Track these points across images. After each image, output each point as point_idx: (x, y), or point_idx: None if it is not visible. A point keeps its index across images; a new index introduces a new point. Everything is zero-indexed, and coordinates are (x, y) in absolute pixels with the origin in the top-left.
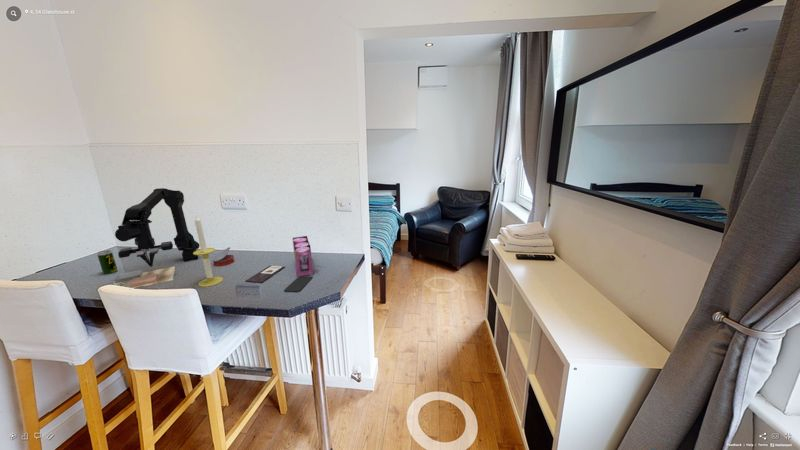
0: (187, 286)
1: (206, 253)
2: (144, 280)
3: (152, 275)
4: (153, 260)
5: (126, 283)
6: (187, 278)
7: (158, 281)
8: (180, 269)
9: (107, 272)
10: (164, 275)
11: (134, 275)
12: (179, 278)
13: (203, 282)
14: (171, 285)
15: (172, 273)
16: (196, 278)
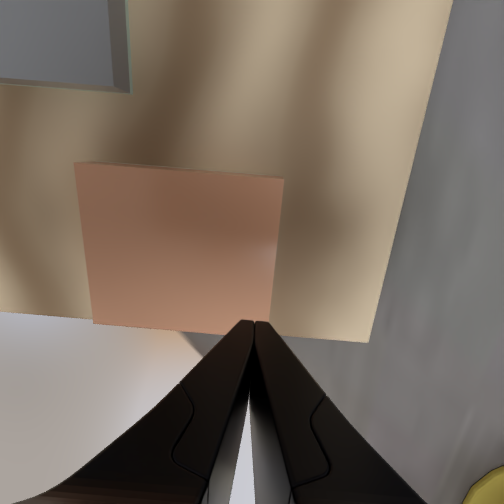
0: (414, 480)
1: None
2: (186, 306)
3: (240, 211)
4: (305, 375)
5: (40, 156)
6: (455, 362)
7: (278, 301)
8: (492, 47)
9: None
10: (330, 176)
11: (57, 47)
12: (413, 322)
13: (500, 502)
14: (345, 412)
15: (398, 168)
16: (499, 402)
